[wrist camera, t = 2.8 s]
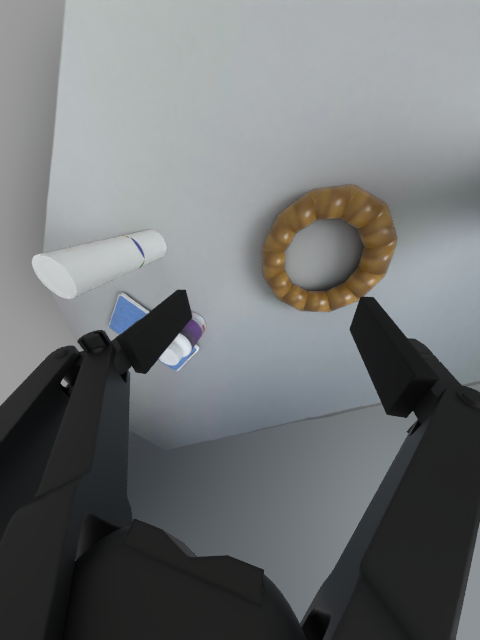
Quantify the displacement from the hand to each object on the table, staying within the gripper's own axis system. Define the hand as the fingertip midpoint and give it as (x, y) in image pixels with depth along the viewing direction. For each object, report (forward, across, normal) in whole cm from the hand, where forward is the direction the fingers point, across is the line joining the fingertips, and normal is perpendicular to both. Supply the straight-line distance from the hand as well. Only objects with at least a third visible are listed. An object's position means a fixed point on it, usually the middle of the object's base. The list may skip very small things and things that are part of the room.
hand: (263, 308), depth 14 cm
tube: (+14, -19, +2) cm, 24 cm away
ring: (+13, +6, 0) cm, 14 cm away
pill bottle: (+14, -16, -12) cm, 25 cm away
